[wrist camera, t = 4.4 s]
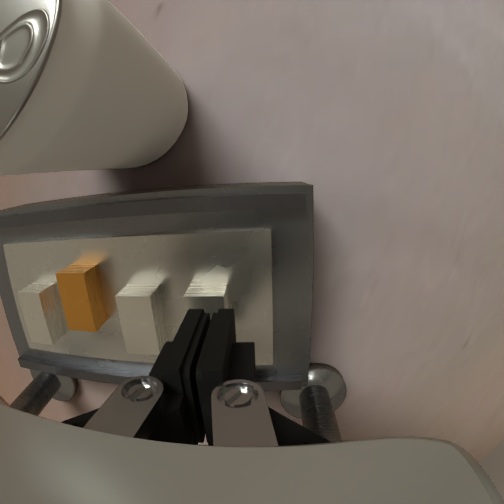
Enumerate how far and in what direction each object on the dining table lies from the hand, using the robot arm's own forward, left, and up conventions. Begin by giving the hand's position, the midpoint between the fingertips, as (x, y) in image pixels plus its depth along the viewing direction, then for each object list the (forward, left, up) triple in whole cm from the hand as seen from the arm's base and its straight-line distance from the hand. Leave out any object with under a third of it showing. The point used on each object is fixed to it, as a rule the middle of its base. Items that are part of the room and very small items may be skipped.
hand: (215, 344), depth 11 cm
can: (+5, -10, -7) cm, 13 cm away
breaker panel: (+5, -1, -7) cm, 9 cm away
